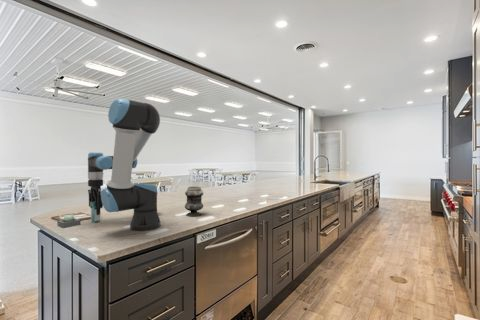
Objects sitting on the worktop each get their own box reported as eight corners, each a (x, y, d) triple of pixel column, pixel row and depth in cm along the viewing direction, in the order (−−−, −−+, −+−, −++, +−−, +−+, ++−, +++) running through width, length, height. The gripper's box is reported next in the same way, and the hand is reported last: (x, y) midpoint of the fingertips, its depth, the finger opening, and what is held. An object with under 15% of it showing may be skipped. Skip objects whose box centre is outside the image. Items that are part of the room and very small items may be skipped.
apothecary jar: (201, 217, 153) (201, 188, 153) (182, 216, 153) (182, 188, 153) (204, 212, 165) (204, 186, 165) (187, 212, 165) (187, 186, 165)
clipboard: (95, 218, 149) (95, 215, 149) (65, 223, 136) (65, 220, 136) (80, 213, 161) (80, 211, 161) (51, 218, 148) (51, 216, 148)
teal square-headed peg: (101, 221, 142) (101, 201, 142) (93, 222, 138) (93, 202, 138) (97, 220, 144) (97, 200, 144) (90, 221, 141) (90, 201, 140)
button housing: (80, 224, 134) (80, 220, 134) (63, 227, 128) (63, 223, 128) (74, 222, 139) (74, 218, 139) (57, 225, 132) (57, 220, 132)
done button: (75, 220, 134) (75, 215, 134) (66, 222, 130) (66, 217, 130) (71, 219, 136) (71, 214, 136) (62, 221, 133) (62, 215, 133)
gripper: (109, 179, 139) (109, 220, 139) (95, 178, 149) (95, 216, 149) (95, 180, 133) (95, 223, 133) (81, 178, 143) (81, 218, 143)
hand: (95, 219), depth 141 cm, fingers closed on teal square-headed peg, 4 cm apart
